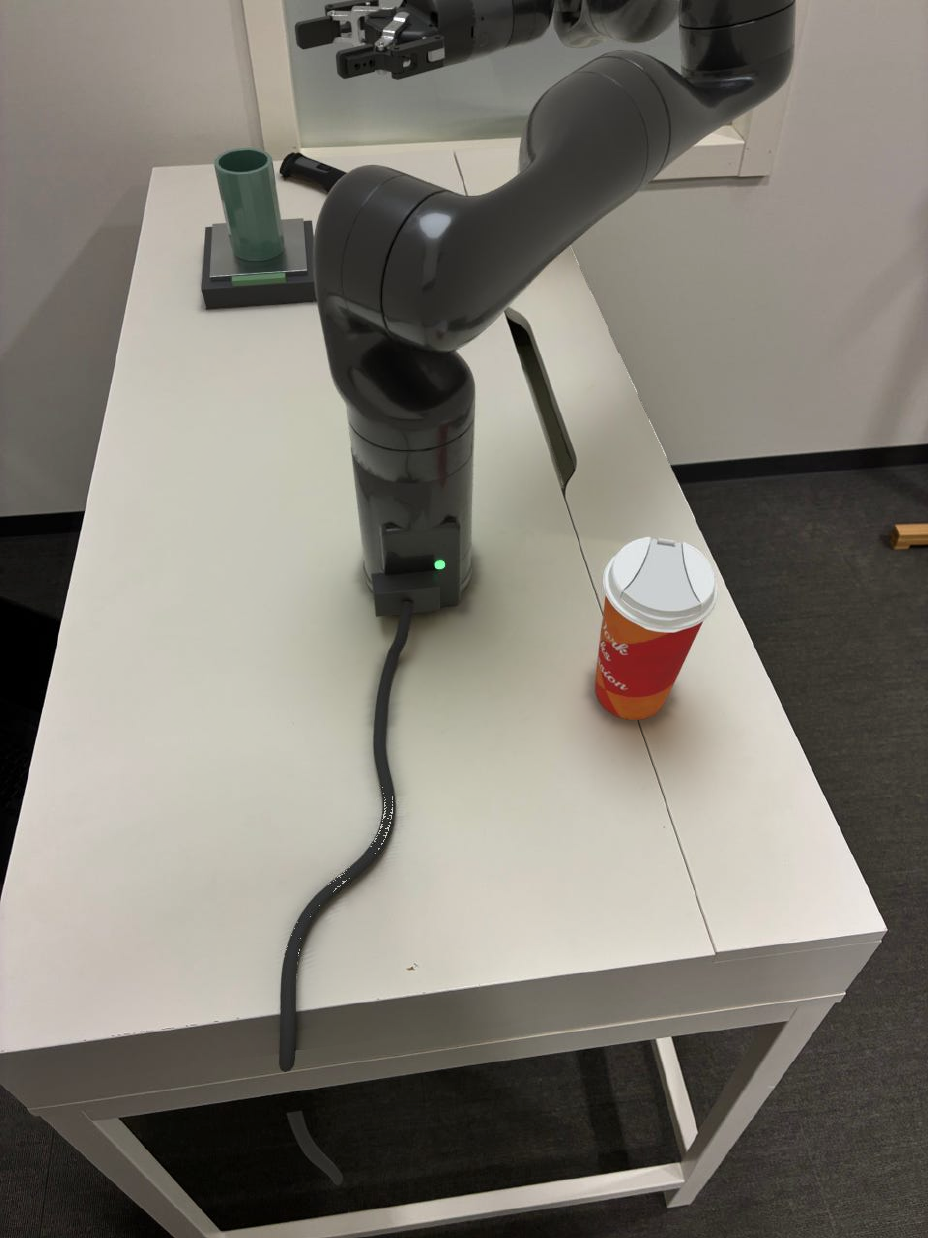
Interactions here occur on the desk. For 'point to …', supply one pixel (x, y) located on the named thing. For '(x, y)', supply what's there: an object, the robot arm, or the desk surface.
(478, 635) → the desk surface
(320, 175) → the electric trimmer
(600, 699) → the paper cup
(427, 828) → the desk surface
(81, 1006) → the desk surface
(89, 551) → the desk surface
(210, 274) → the scale
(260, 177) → the tumbler
